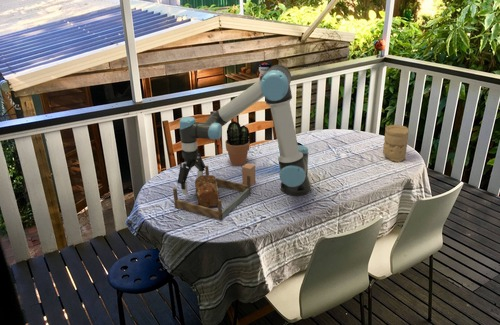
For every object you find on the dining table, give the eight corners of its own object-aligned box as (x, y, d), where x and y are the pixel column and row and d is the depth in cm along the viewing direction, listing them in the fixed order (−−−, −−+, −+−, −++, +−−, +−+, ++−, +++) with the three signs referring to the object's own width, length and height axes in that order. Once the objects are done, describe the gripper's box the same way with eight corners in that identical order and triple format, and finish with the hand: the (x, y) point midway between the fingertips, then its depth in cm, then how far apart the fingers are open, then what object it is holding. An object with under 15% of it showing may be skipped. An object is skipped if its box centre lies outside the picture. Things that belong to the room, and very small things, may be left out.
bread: (219, 207, 213) (218, 188, 209) (196, 209, 212) (195, 190, 208) (216, 188, 230) (215, 171, 226) (195, 190, 229) (194, 173, 225)
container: (407, 156, 261) (411, 127, 253) (401, 164, 251) (405, 134, 244) (386, 152, 267) (389, 123, 259) (379, 159, 257) (382, 130, 250)
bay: (250, 193, 225) (250, 175, 221) (221, 220, 203) (219, 200, 198) (207, 182, 236) (206, 165, 232) (175, 207, 214) (173, 188, 210)
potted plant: (241, 169, 250) (240, 127, 239) (221, 164, 257) (219, 123, 246) (254, 160, 260) (253, 119, 250) (235, 155, 267) (233, 115, 256)
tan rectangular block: (255, 182, 236) (255, 165, 231) (250, 186, 232) (250, 168, 227) (247, 180, 238) (246, 163, 234) (242, 184, 234) (241, 167, 230)
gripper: (198, 138, 226) (201, 176, 235) (167, 157, 206) (171, 197, 215) (210, 141, 223) (213, 179, 232) (180, 160, 203) (184, 201, 212)
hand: (193, 188), depth 223 cm, fingers open, 13 cm apart
